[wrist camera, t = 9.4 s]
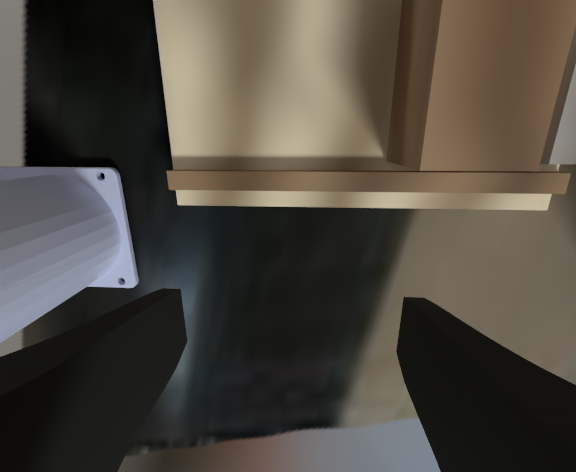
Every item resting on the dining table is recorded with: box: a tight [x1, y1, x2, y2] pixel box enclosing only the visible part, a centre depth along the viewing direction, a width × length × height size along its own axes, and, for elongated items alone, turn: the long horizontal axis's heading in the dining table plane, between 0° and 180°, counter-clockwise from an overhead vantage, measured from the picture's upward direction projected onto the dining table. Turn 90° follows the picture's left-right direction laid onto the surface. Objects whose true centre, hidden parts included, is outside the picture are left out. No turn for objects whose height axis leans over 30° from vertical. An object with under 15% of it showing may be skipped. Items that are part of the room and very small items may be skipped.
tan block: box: [386, 0, 576, 171], centre depth 11 cm, size 4×10×5 cm, turn 0°
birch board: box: [153, 0, 576, 210], centre depth 14 cm, size 20×14×4 cm
